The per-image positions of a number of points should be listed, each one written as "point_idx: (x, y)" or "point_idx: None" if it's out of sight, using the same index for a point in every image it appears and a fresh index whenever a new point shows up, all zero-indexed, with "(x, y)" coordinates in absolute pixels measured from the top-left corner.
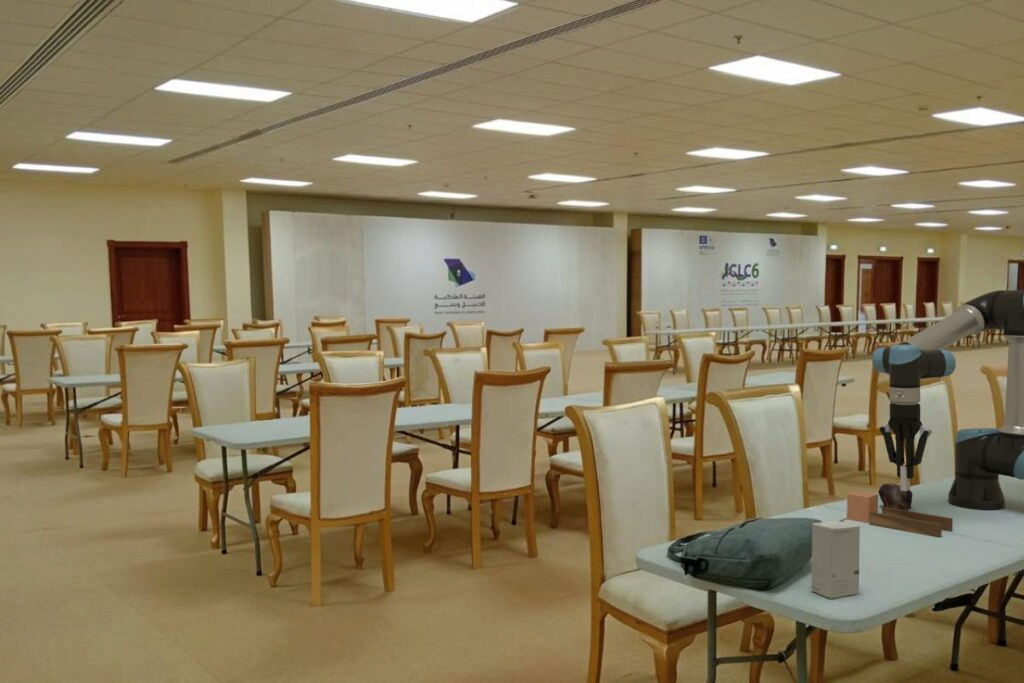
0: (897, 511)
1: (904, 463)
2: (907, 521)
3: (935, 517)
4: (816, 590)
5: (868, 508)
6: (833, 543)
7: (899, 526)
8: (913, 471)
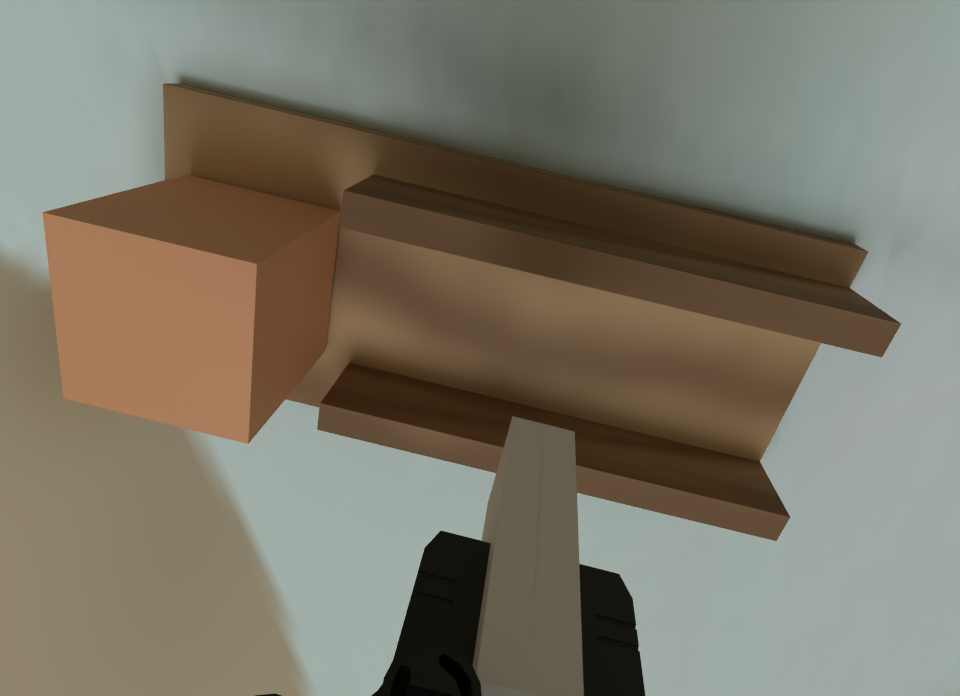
0: (466, 254)
1: (469, 668)
2: None
3: (761, 324)
4: None
5: (285, 397)
6: None
7: None
8: (639, 663)
